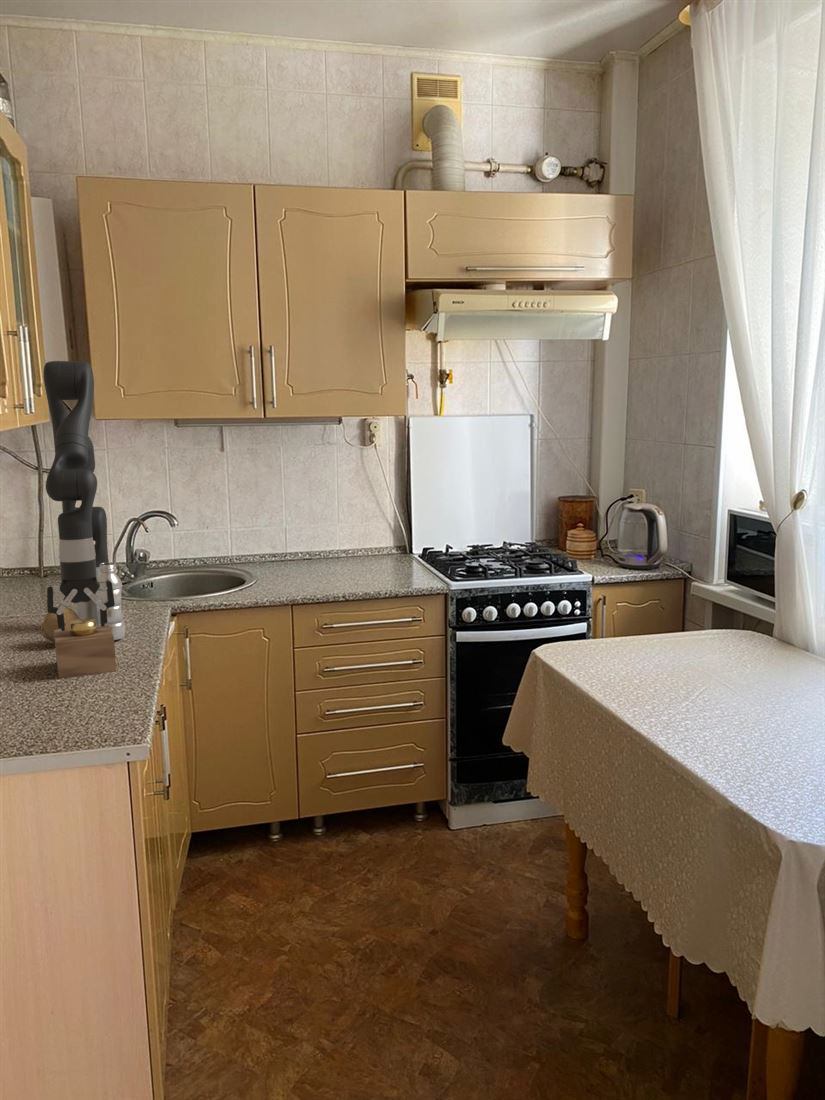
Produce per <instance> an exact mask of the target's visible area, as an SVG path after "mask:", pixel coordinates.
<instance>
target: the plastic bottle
mask: <svg viewBox="0 0 825 1100" xmlns="http://www.w3.org/2000/svg"><path fill="white" fill-rule="evenodd" d="M116 570H117V569H116V565H115V562H109V563H102V564H100V572H101V575H100V576H99V578H98V580H97V581H98V582H105V581H107V580H110V581H111V582H112V587H113V595H114V603H115V605H114V606H113V607H110V608H108V609H107V623H106V624H105V625H107V624H109V627H110V629H111V631H112V634H113V636H114V641H117V640H121V639H123V638H124V637H125V635H126V626H125V620H124V618H123V617H124V616H123V612H122V592H123V591H122V590H123V583H122V580H121V578H120V577H119V576H118V575H117V574H116V573H115V572H116ZM97 595H98V597H99V598H100V599H101V601H102V602H103V603H105V602H108V597H107V591H104V590H103V588H102V587H99V589H98V591H97ZM100 609H101V608H100ZM99 625H101V621H100V623H99Z"/></svg>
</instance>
